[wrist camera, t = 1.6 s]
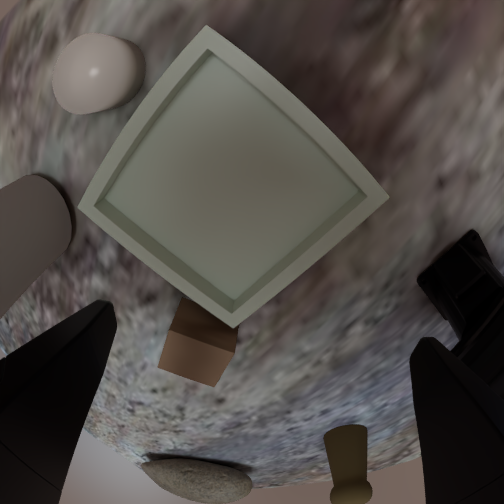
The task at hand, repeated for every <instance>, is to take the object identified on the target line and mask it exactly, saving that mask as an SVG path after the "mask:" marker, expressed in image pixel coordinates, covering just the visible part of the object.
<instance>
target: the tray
mask: <svg viewBox="0 0 504 504" xmlns="http://www.w3.org/2000/svg"><path fill="white" fill-rule="evenodd" d="M389 198H390V197H389V195H388V194H387V193H386V192H385V190H384V189H383V188H382V187H381V186H380V184H379V183H378V182H377V181H376V180H375V179H374V177H373V176H372V175H371V174H370V173H369V172H368V170H367V169H366V168H365V167H364V166H363V165H362V164H361V163H360V161H359V160H358V159H357V158H356V157H355V156H354V155H353V154H352V153H351V152H350V150H349V149H348V148H347V147H346V146H345V145H344V144H343V143H342V142H341V141H340V140H339V139H338V138H337V137H336V136H335V135H334V134H333V133H332V132H331V130H330V129H329V128H328V127H327V126H326V125H325V124H324V123H323V122H322V121H321V120H320V119H319V118H318V117H316V116H315V115H314V114H313V113H312V112H311V111H310V110H309V109H308V108H307V107H306V106H305V105H304V104H303V103H302V102H301V101H300V100H299V99H298V98H296V97H295V96H294V95H293V94H292V93H291V92H290V91H289V90H288V89H287V88H285V87H284V86H283V85H282V84H281V83H280V82H279V81H277V80H276V79H275V78H274V77H273V76H272V75H271V74H269V73H268V72H267V71H266V70H265V69H263V68H262V67H261V66H260V65H259V64H257V63H256V62H255V61H254V60H252V59H251V58H250V57H249V56H247V55H246V54H245V53H244V52H242V51H241V50H240V49H238V48H237V47H236V46H235V45H233V44H232V43H231V42H229V41H228V40H227V39H225V38H224V37H223V36H221V35H220V34H218V33H217V32H216V31H214V30H213V29H211V28H210V27H209V26H207V25H206V26H205V27H204V28H203V29H202V30H201V31H200V32H199V33H198V34H197V35H196V36H195V37H194V39H193V40H192V41H191V42H190V43H189V44H188V45H187V46H186V47H185V49H184V50H183V51H182V52H181V53H180V54H179V56H178V57H177V58H176V59H175V60H174V61H173V63H172V64H171V65H170V66H169V67H168V69H167V70H166V71H165V72H164V74H163V75H162V76H161V77H160V79H159V80H158V81H157V83H156V84H155V85H154V86H153V88H152V89H151V90H150V92H149V93H148V94H147V96H146V97H145V98H144V100H143V101H142V102H141V104H140V105H139V107H138V108H137V109H136V111H135V112H134V114H133V115H132V117H131V118H130V119H129V121H128V122H127V124H126V125H125V127H124V128H123V130H122V131H121V133H120V134H119V136H118V138H117V139H116V141H115V142H114V144H113V145H112V147H111V149H110V150H109V152H108V153H107V155H106V157H105V158H104V160H103V162H102V163H101V165H100V167H99V169H98V170H97V172H96V174H95V176H94V177H93V179H92V181H91V183H90V185H89V186H88V188H87V190H86V192H85V194H84V196H83V198H82V200H81V201H80V203H79V205H78V207H77V208H78V209H79V210H81V211H82V212H83V213H84V214H85V215H86V216H87V217H89V218H90V219H91V220H92V221H93V222H95V223H96V224H97V225H98V226H99V227H100V228H102V229H103V230H104V231H105V232H106V233H108V234H109V235H110V236H111V237H112V238H114V239H115V240H116V241H117V242H119V243H120V244H121V245H122V246H123V247H125V248H126V249H127V250H128V251H130V252H131V253H132V254H133V255H135V256H136V257H137V258H138V259H140V260H141V261H142V262H143V263H145V264H146V265H147V266H149V267H150V268H151V269H152V270H154V271H155V272H156V273H158V274H159V275H160V276H162V277H163V278H164V279H165V280H167V281H168V282H169V283H171V284H172V285H173V286H175V287H176V288H177V289H179V290H180V291H181V292H183V293H184V294H186V295H187V296H188V297H190V298H191V299H192V300H194V301H195V302H196V303H198V304H199V305H201V306H202V307H203V308H205V309H206V310H208V311H209V312H210V313H212V314H213V315H215V316H216V317H217V318H219V319H220V320H222V321H223V322H225V323H226V324H228V325H229V326H230V327H232V328H235V327H236V326H237V325H238V324H240V323H241V322H242V321H244V320H245V319H246V318H247V317H249V316H250V315H251V314H253V313H254V312H255V311H256V310H258V309H259V308H260V307H261V306H263V305H264V304H265V303H266V302H268V301H269V300H270V299H271V298H273V297H274V296H275V295H276V294H278V293H279V292H280V291H281V290H283V289H284V288H285V287H286V286H287V285H289V284H290V283H291V282H292V281H294V280H295V279H296V278H297V277H298V276H300V275H301V274H302V273H303V272H305V271H306V270H307V269H308V268H309V267H311V266H312V265H313V264H314V263H315V262H316V261H318V260H319V259H320V258H321V257H322V256H324V255H325V254H326V253H327V252H328V251H330V250H331V249H332V248H333V247H334V246H335V245H337V244H338V243H339V242H340V241H341V240H342V239H344V238H345V237H346V236H347V235H348V234H349V233H350V232H352V231H353V230H354V229H355V228H356V227H357V226H358V225H360V224H361V223H362V222H363V221H364V220H365V219H366V218H368V217H369V216H370V215H371V214H372V213H373V212H374V211H375V210H377V209H378V208H379V207H380V206H381V205H382V204H383V203H384V202H385V201H387V200H388V199H389Z"/></svg>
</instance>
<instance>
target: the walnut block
mask: <svg viewBox="0 0 504 504" xmlns="http://www.w3.org/2000/svg"><path fill="white" fill-rule="evenodd" d="M238 328H239V324H238V325H237V326H236V327H235V328H232V327H230V326H229V325H228V324H226V323H225V322H223V321H222V320H220V319H219V318H217V317H216V316H215V315H213V314H212V313H210V312H209V311H208V310H206V309H205V308H203V307H202V306H201V305H199V304H198V303H196V302H193V301H191V300H188V299H186V298H183V297H182V299H181V301H180V304H179V306H178V309H177V311H176V314H175V316H174V319H173V321H172V324H171V326H170V329H169V332H168V335H167V338H166V341H165V344H164V348H163V351H162V354H161V358H160V361H159V364H158V368H161V369H163V370H166V371H169V372H171V373H174V374H177V375H179V376H182V377H185V378H188V379H191V380H194V381H197V382H200V383H203V384H206V385H209V386H212V387H215V385H216V384H217V382H218V380H219V379H220V377H221V375H222V374H223V372H224V370H225V369H226V367H227V365H228V364H229V362H230V360H231V359H232V357H233V355H234V353H235V348H236V341H237V335H238Z"/></svg>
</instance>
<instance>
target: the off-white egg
mask: <svg viewBox="0 0 504 504" xmlns="http://www.w3.org/2000/svg"><path fill="white" fill-rule="evenodd" d="M145 71H146V65H145V59H144V56H143V54H142V52H141V50H140V49H139V48H138V46H137V45H135V44H134V43H132V42H131V41H128V40H125V39H121V38H117V37H113V36H109V35H105V34H100V33H87V34H84V35H81V36H79V37H77V38H75V39H74V40H72V41H71V42H70V43H69V44H68V45H67V46H66V47H65V48H64V49H63V51H62V52H61V54H60V55H59V57H58V59H57V61H56V64H55V67H54V70H53V77H52V85H53V91H54V95H55V97H56V99H57V101H58V103H59V104H60V105H61V107H62V108H64V109H65V110H66V111H68V112H70V113H73V114H78V115H84V114H89V113H93V112H98V111H103V110H108V109H114V108H118V107H120V106H123V105H124V104H126V103H128V102H129V101H130V100H131V99H132V98H133V97H134V96H135V95H136V94H137V93H138V91H139V89H140V88H141V86H142V83H143V81H144V77H145Z"/></svg>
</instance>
